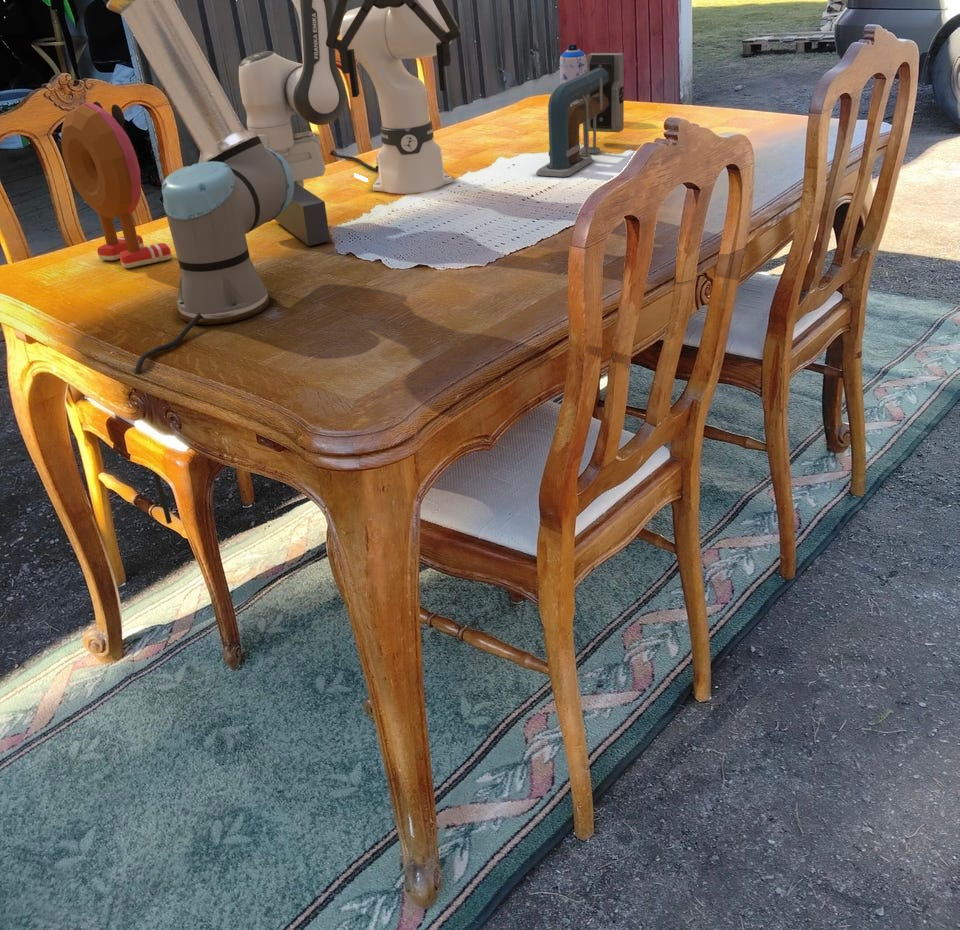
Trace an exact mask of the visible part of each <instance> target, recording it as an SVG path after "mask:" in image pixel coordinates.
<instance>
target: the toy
mask: <svg viewBox="0 0 960 930" xmlns="http://www.w3.org/2000/svg"><path fill="white" fill-rule="evenodd" d="M110 109H111V110H110V111H111V113H110V112H109V111H108V110H106V109H104V108H103V106H102V105H101V103H100V102H99V101H94V102H93V103H92V102H89V101H88V102H87V101H86V102H84V103H82V104H80V105H78V106H76V107H75V108H73V109H71V110H70V111H68V112H66V113H65V117H64V120H63V124H62V126H61V134H60V144H61V145H60V146H61V155H62V158H63V161H64V166H65V168H66V171H67V174H68V177H69V178H70V180H71V182H72V185H73V187H74V189H75V190H76V191H77V193H78V194H79V195H80V196H81V198H82V200H83V201H84V202H85V203H86V204H87V205H88V206H89V207H90V208H91V209H92V210H93V211H95V212H96V213H97V214H98V219H99V221H100V226H101V229H102V232H103V237H104V240H105V243H104V244H102V245H100V246H98V247H97V255H98V258H99V259H100V260H102V261H116V260H120V264H121V265H122V267H124V268H126V269H131V268H136V267H140V266H145V265H149V264H153V263H158V262H159V263H160V262H164V261H168V260H171V258H172V252H171V248H170V247H169V246H168V244H166V243H164V242H160V243H155V244H150V245H145V243H144V240H143V237H142V236H141V235H139V234H137V230H136V225H135V223H134V219H133V216H132V214H133V213H134V212H135V211H136V209H137V207H138V205H139V203H140V200H141V195H142V179H141V168H140V164H139V160H138V156H137V154H136V151H135V149H134V146H133V144H132V142H131V140H130V137H129V136H128V134H127V133H126V131H125V130H124V129H123V128H124V127H125V125H126V118H125V115H124V111H122V108H121V107H120V106H119V105H118V104H116V103H114V104H113V105H112V106H111V107H110ZM116 218H118V220H119V223H120V227H121V230H122V234H123V235H122V236H119V237H118V235H117V231H116V226H115V223H114V219H116Z"/></svg>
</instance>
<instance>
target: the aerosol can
mask: <svg viewBox="0 0 960 930" xmlns="http://www.w3.org/2000/svg"><path fill="white" fill-rule="evenodd" d="M585 73H587V55H586V54H585V52H584V51H583V50H581V49H579V48H578V44H577V43H574V44H568V48H567V49H566V50H565V51H563V52H562V53H561V55H560V56H559V79H560V81H559V83H560V84H559V85H561V84H564V83H566V82H568V81H570V80H572V79H574V78H577V77H579V76H581V75H583V74H585ZM581 101H583V100H582V99H581V100H576V101H574V102H572V103H570V107H571V106H573V105H575V104H577V103H579V102H581Z"/></svg>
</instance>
